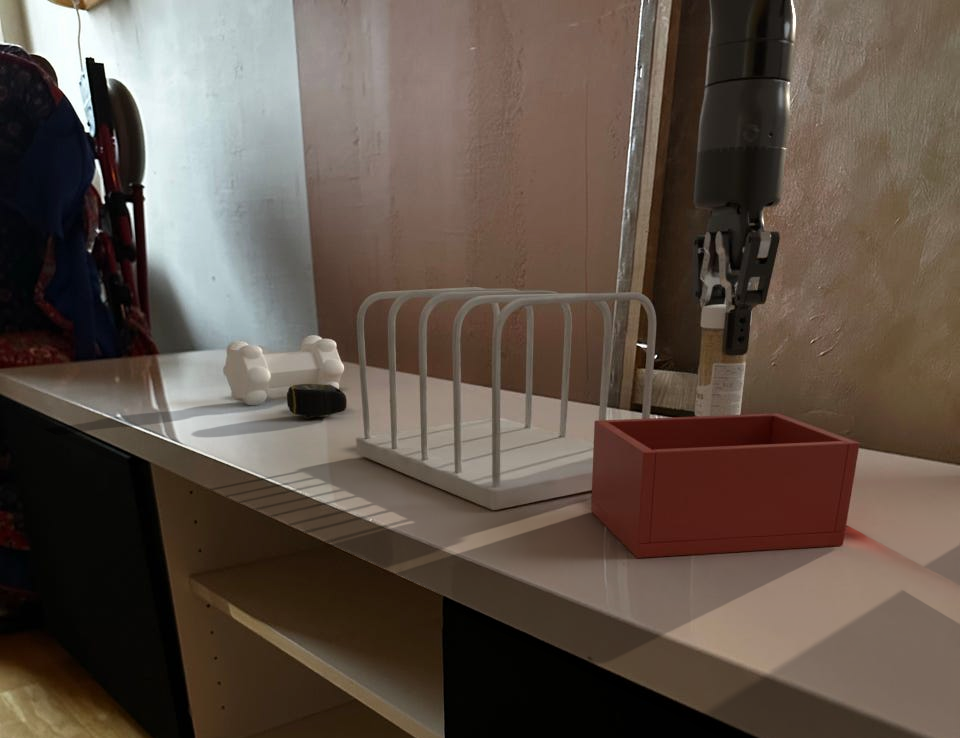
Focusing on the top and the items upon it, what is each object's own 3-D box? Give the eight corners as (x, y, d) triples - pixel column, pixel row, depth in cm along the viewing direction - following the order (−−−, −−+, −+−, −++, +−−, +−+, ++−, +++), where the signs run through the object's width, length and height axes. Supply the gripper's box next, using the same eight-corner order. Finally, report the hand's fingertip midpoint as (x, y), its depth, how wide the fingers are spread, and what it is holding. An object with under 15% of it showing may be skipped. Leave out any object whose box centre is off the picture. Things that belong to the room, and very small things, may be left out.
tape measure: (349, 419, 107) (347, 387, 105) (293, 423, 105) (290, 391, 103) (337, 410, 113) (335, 381, 111) (284, 414, 111) (281, 384, 109)
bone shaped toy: (316, 390, 130) (312, 333, 126) (349, 396, 124) (345, 336, 120) (224, 402, 121) (216, 340, 117) (254, 409, 115) (247, 344, 111)
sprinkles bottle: (688, 445, 88) (699, 304, 83) (733, 445, 88) (747, 303, 82) (693, 454, 84) (705, 307, 79) (741, 454, 84) (757, 306, 78)
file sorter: (355, 456, 87) (343, 289, 81) (499, 436, 96) (498, 283, 89) (493, 512, 68) (491, 298, 61) (657, 480, 76) (671, 290, 70)
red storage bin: (767, 501, 70) (778, 413, 67) (843, 545, 59) (860, 442, 56) (590, 511, 68) (594, 420, 65) (636, 558, 57) (643, 452, 54)
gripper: (823, 136, 69) (795, 359, 76) (747, 155, 82) (729, 344, 89) (734, 136, 68) (714, 362, 75) (671, 156, 81) (659, 346, 88)
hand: (723, 351), depth 82 cm, fingers closed on sprinkles bottle, 4 cm apart
